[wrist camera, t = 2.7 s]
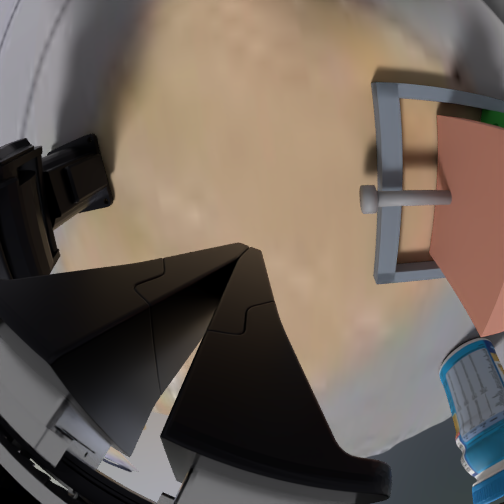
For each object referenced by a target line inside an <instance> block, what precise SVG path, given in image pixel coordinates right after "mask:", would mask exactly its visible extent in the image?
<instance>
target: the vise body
mask: <svg viewBox="0 0 504 504" xmlns="http://www.w3.org/2000/svg"><path fill="white" fill-rule="evenodd" d="M371 87H372V95H373V105H374V115H375V128H376V144H377V171H378V191H400V190H402V170H403V164H402V129H401V113H400V102H399V98H404V99H417V100H428V101H437V102H445V103H452V104H459V105H465V106H471V107H476V108H481V109H487V110H492V111H498V112H503V113H504V101H503V100H499V99H495V98H491V97H487V96H483V95H478V94H473V93H469V92H463V91H458V90H452V89H446V88H439V87H432V86H424V85H414V84H403V83H387V82H374V83H371ZM400 222H401V206H386V207H378V209H377V235H376V251H375V264H374V275H373V276H374V279H375V282H376V284H387V283H398V282H408V281H418V280H428V279H437V278H446V277H445V276H444V274H443V273H442V271H441V270H440V268H439V267H438V265H437V264H436V262H435V261H426V262H415V263H402V264H396V262H397V254H398V245H399V234H400Z"/></svg>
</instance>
